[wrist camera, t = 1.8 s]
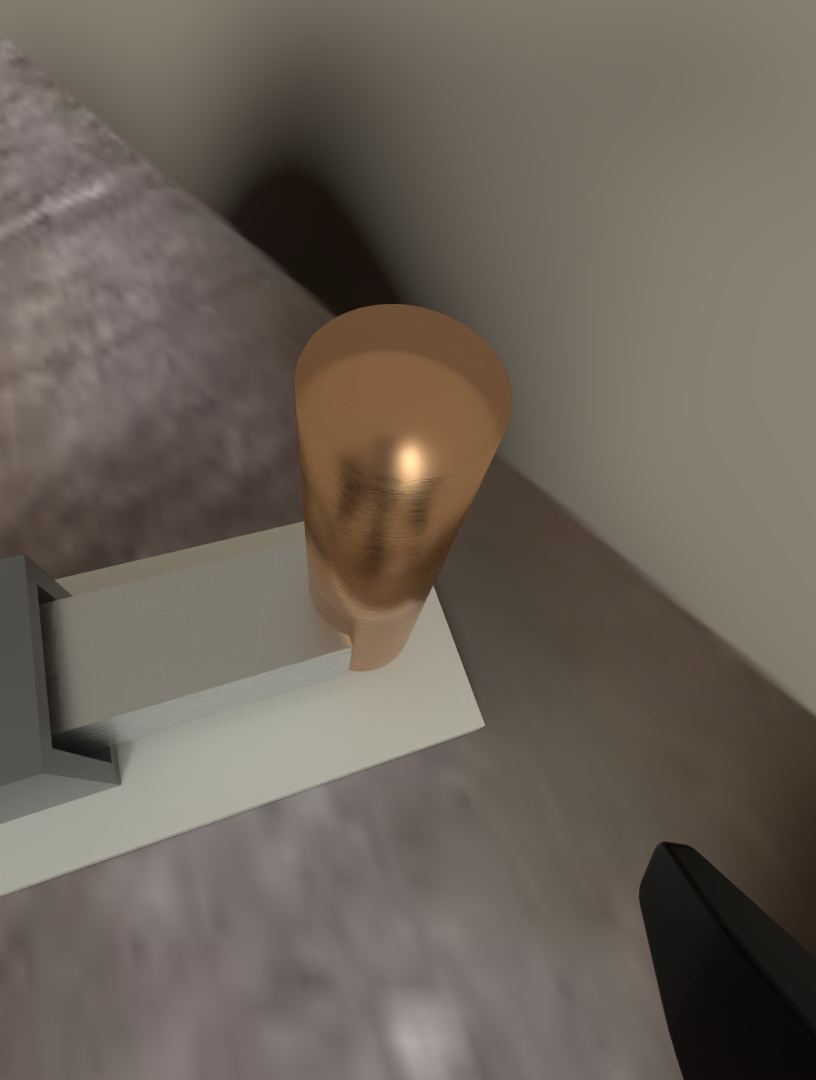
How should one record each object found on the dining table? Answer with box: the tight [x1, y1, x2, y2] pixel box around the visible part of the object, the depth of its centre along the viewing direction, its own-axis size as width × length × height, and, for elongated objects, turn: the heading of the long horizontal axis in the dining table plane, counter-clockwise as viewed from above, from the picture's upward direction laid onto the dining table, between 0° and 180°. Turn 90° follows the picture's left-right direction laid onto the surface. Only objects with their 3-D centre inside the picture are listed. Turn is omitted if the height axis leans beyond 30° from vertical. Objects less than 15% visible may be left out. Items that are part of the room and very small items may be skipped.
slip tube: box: [39, 304, 512, 756], centre depth 13 cm, size 16×3×12 cm, turn 109°
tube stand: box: [0, 521, 485, 897], centre depth 16 cm, size 26×9×7 cm, turn 109°
